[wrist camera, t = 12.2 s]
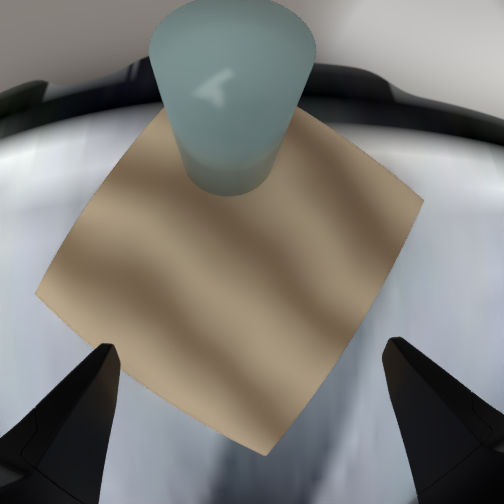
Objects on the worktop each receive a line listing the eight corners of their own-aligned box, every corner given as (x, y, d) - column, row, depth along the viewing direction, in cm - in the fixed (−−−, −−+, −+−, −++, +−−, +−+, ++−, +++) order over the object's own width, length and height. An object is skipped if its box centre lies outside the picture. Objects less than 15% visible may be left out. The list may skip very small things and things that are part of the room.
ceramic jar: (209, 213, 18) (191, 133, 8) (167, 139, 18) (128, 26, 8) (291, 170, 19) (348, 70, 9) (245, 102, 19) (261, -17, 9)
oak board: (263, 445, 18) (265, 456, 17) (46, 293, 18) (34, 293, 16) (413, 205, 21) (424, 200, 19) (211, 71, 21) (210, 59, 19)
